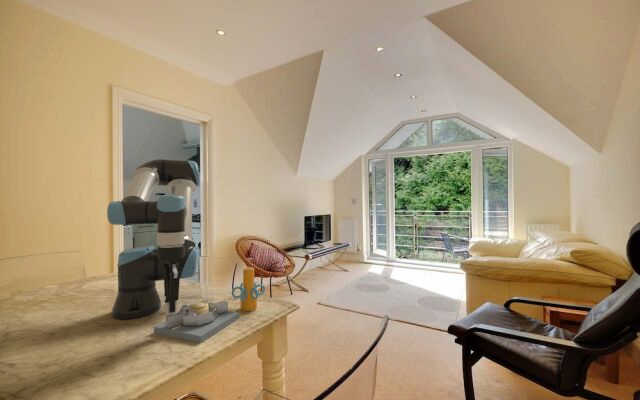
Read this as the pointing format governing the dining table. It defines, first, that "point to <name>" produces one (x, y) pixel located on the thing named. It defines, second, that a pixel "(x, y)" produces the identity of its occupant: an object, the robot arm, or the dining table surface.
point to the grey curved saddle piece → (196, 315)
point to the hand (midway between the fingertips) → (171, 321)
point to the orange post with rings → (248, 290)
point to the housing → (201, 331)
